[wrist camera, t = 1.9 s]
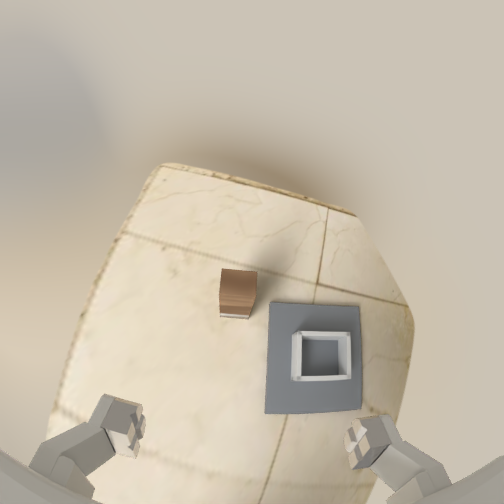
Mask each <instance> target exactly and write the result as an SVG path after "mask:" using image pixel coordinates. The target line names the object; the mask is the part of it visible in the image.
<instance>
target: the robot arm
mask: <svg viewBox="0 0 504 504" xmlns="http://www.w3.org/2000/svg"><path fill="white" fill-rule="evenodd" d="M142 411H143V408H142V404H138V403H135V402H131V401H127V400H124V399H121V398H117V397H114V396H111V395H107V394H104V395H103V396H102V397H101V398H100V400H99V402H98V404H97V406H96V408H95V410H94V412H93V414H92V416H91V418H90V420H89V422H88V423H86V422H83V423H81V424H79V425H78V426H76V427H74V428H72V429H70V430H68V431H66V432H64V433H62V434H60V435H58V436H56V437H54V438H51V439H49V440H47V441H45V442H43V443H41V445H40V447H39V448H38V450H37V452H36V454H35V456H34V457H33V459H32V461H31V463H30V465H29V467H27V466H26V465H24V464H22V463H21V462H19V461H18V460H16V459H15V458H14V457H12V456H11V455H9V454H8V453H6V452H5V451H4V450H2V449H1V448H0V504H103V503H100V502H97V501H95V500H92V496H93V493H94V490H95V488H94V486H93V485H92V484H91V482H90V481H89V480H88V479H87V478H86V476H87V475H89V474H90V473H91V472H93V471H94V470H96V469H97V468H98V467H100V466H101V465H102V464H104V463H105V462H106V461H108V460H109V459H110V458H112V457H113V456H114V455H116V454H120V455H123V456H127V457H131V458H135V459H136V457H137V454H138V451H139V448H140V444H139V441H138V440H140V439H141V438H143V435H144V432H145V416H143V415H142ZM351 424H352V427H351V428H350V429H348V430H347V432H346V433H345V436H344V446H345V450H346V451H348V452H349V453H350V454H349V457H348V460H349V463H350V467H351V470H355V469H361V468H367V467H370V469H371V470H372V471H373V472H374V473H375V474H376V475H377V476H378V477H379V478H381V479H382V480H383V481H384V482H385V483H386V484H387V485H388V486H389V487H390V488H392V489H393V490H394V491H395V493H394V494H393V495H392V496H390V497H389V498H388V499H387V500H386V501H387V504H504V456H500V457H498V458H496V459H495V460H493V461H492V462H490V463H489V464H487V465H486V466H484V467H482V468H481V469H480V470H478V471H476V472H474V473H472V474H471V475H469V476H467V477H465V478H464V479H462V480H460V481H458V482H456V483H454V484H452V483H451V481H450V479H449V477H448V475H447V473H446V471H445V469H444V467H443V465H442V464H441V463H440V462H438V461H436V460H435V459H433V458H431V457H430V456H428V455H427V454H425V453H424V452H422V451H420V450H419V449H417V448H416V447H414V446H413V445H411V444H409V443H408V442H406V441H402V439H401V437H400V435H399V432H398V430H397V428H396V426H395V424H394V422H393V420H392V418H391V416H390V415H389V414H385V415H379V416H370V417H362V418H356V419H354V420H353V422H352V423H351ZM115 453H116V454H115Z"/></svg>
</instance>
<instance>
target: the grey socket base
mask: <svg viewBox="0 0 504 504" xmlns="http://www.w3.org/2000/svg"><path fill="white" fill-rule="evenodd" d="M361 400H362V362H361V334H360V317H359V307H353V306H328V305H308V304H291V303H276V302H270V304H269V329H268V354H267V376H266V396H265V414H308V413H325V412H338V411H348V410H357V409H361Z"/></svg>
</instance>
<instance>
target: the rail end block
mask: <svg viewBox="0 0 504 504" xmlns="http://www.w3.org/2000/svg"><path fill="white" fill-rule="evenodd" d="M256 287H257V272H253V271H242V270H232V269H222V272H221V281H220V291H219V303H220V317H228V318H240V319H248V318H249V315H250V312H251V309H252V307H253V304H254V301H255V298H256Z"/></svg>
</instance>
